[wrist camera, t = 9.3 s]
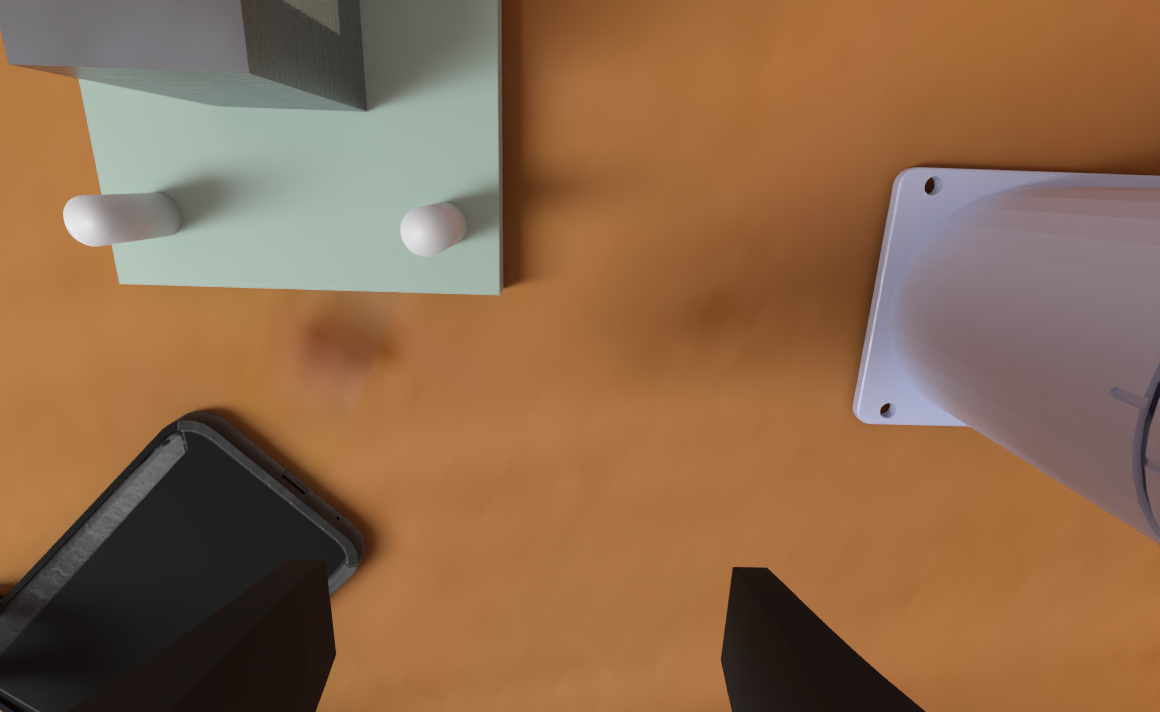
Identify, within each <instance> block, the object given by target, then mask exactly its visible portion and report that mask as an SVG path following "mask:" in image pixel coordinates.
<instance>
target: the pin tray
mask: <svg viewBox="0 0 1160 712" xmlns="http://www.w3.org/2000/svg"><path fill="white" fill-rule="evenodd" d="M359 2H360V16H361V31H362V45H363V59H364V74H365V88H366V103H367V112H359V111H331V110H304V109H276V108H248V107H220V106H212V105H207V104H202V103H197V102H192V101H187V100H182V99H178V98H173V97H168V96H163V95H158V94H153V93H148V92H143V91H138V90H133V89H128V88H123V87H118V86H113V85H108V84H104V83H99V82H94V81H89V80H84V79H79V83H80V88H81V93H82V98H83V103H84V108H85V113H86V118H87V123H88V128H89V133H90V138H91V143H92V148H93V153H94V158H95V163H96V168H97V173H98V178H99V183H100V188H101V193H102V195H80V196H76V197H74V198H72V199H70V200H69V201H68V202H67V204H66V205H65V208H64V212H63V218H64V222H65V225H66V228H67V229H68V231H69V232H70V234H71V235H72V236H73V237H74V238H75V239H76V240H78V241H79V242H81V243H83V244H85V245H88V246H104V245H111V244H112V249H113V254H114V259H115V264H116V269H117V274H118V279H119V284H138V285H172V286H205V287H239V288H273V289H307V290H341V291H375V292H408V293H442V294H476V295H500V294H501V292H502V290H503V142H502V0H359Z"/></svg>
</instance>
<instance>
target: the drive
mask: <svg viewBox="0 0 1160 712" xmlns="http://www.w3.org/2000/svg"><path fill="white" fill-rule="evenodd" d="M0 28H1V33H2V37H3V41H4V46H5V50H6V54H7V59H8V63H9V64H10V65H15V66H20V67H25V68H30V69H35V70H39V71H44V72H49V73H54V74H59V75H64V76H69V77H74V78H79V79H84V80H89V81H94V82H99V83H104V84H108V85H113V86H118V87H123V88H128V89H133V90H138V91H143V92H148V93H153V94H158V95H163V96H168V97H173V98H178V99H182V100H187V101H192V102H197V103H202V104H207V105H212V106H220V107H248V108H276V109H304V110H331V111H359V112H367V103H366V88H365V74H364V59H363V45H362V31H361V16H360V2H359V0H0Z"/></svg>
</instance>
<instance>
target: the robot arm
mask: <svg viewBox="0 0 1160 712" xmlns="http://www.w3.org/2000/svg"><path fill="white" fill-rule="evenodd" d="M929 178H932V179H933V180H934V185H935V186H934V188H933V191H932V192H930V193H929V194H927V193H926V192H925V183H926V181H927V180H928V179H929ZM887 403H890V407H889V409H888V411H886V412H885V413H881V414H880V410H881V407H882V406H883V405H885V404H887ZM853 412H854V414H855V416H856V417H857V418H858V419H860V420H861V421H862V422H864V423H868V424H894V425H934V426H970V427H971V428H973V429H974V430H976V431H978V432H979V433H981V434H983V435H984V436H986V437H987V438H989V439H991V440H992V441H994V442H995V443H997V444H999V445H1000V446H1002V447H1003V448H1005V449H1007V450H1008V451H1010V452H1011V453H1013V454H1015V455H1016V456H1018V457H1019V458H1021V459H1023V460H1024V461H1026V462H1028V463H1029V464H1031V465H1032V466H1034V467H1036V468H1037V469H1039V470H1040V471H1042V472H1044V473H1045V474H1047V475H1048V476H1050V477H1052V478H1053V479H1055V480H1056V481H1058V482H1060V483H1061V484H1063V485H1065V486H1066V487H1068V488H1069V489H1071V490H1073V491H1074V492H1076V493H1077V494H1079V495H1081V496H1082V497H1084V498H1085V499H1087V500H1089V501H1090V502H1092V503H1093V504H1095V505H1097V506H1098V507H1100V508H1101V509H1103V510H1105V511H1106V512H1108V513H1110V514H1111V515H1113V516H1114V517H1116V518H1118V519H1119V520H1121V521H1122V522H1124V523H1126V524H1127V525H1129V526H1130V527H1132V528H1134V529H1135V530H1137V531H1138V532H1140V533H1142V534H1143V535H1145V536H1147V537H1148V538H1150V539H1151V540H1153V541H1155V542H1156V543H1158V544H1159V545H1160V176H1152V175H1124V174H1095V173H1067V172H1039V171H1011V170H983V169H955V168H927V167H913V168H907V169H905V170H903V171H902V172H900V173H899V175H898V176H897V177H896V178H895V181H894V184H893V188H892V194H891V199H890V205H889V210H888V216H887V221H886V227H885V232H884V238H883V243H882V249H881V254H880V259H879V265H878V270H877V276H876V281H875V287H874V292H873V298H872V303H871V309H870V314H869V320H868V325H867V331H866V336H865V342H864V347H863V353H862V358H861V364H860V369H859V375H858V380H857V385H856V391H855V396H854V402H853ZM335 656H336V649H335V640H334V631H333V622H332V613H331V604H330V595H329V586H328V577H327V568H326V560H315V559H290V560H289V561H287V562H285V563H284V564H282V565H281V566H279V567H278V568H276V569H275V570H274V571H272V572H271V573H269V574H268V575H267V576H265V577H264V578H262V579H261V580H260V581H258V582H257V583H255V584H254V585H253V586H251V587H250V588H249V589H247V590H246V591H244V592H243V593H242V594H240V595H239V596H238V597H236V598H235V599H233V600H232V601H231V602H229V603H228V604H227V605H225V606H224V607H222V608H221V609H220V610H218V611H217V612H215V613H214V614H213V615H211V616H210V617H208V618H207V619H206V620H204V621H203V622H201V623H200V624H199V625H197V626H196V627H194V628H193V629H192V630H190V631H189V632H187V633H186V634H185V635H183V636H182V637H180V638H179V639H178V640H176V641H175V642H173V643H172V644H170V645H169V646H167V647H166V648H164V649H163V650H161V651H160V652H158V653H157V654H155V655H154V656H152V657H151V658H149V659H148V660H146V661H145V662H143V663H142V664H140V665H139V666H137V667H136V668H134V669H133V670H131V671H130V672H128V673H127V674H125V675H124V676H122V677H121V678H119V679H118V680H116V681H115V682H113V683H112V684H110V685H109V686H107V687H106V688H104V689H103V690H101V691H99V692H98V693H96V694H95V695H93V696H91V697H90V698H88V699H87V700H85V701H83V702H82V703H80V704H78V705H77V706H75V707H73V708H72V709H70V710H69V711H67V712H315V711H316V709H317V706H318V703H319V701H320V698H321V695H322V693H323V690H324V687H325V685H326V682H327V679H328V676H329V673H330V670H331V667H332V664H333V662H334V659H335ZM721 662H722V667H723V672H724V677H725V682H726V686H727V691H728V696H729V700H730V704H731V709H732V712H926V711H924V710H923V709H922V708H920V707H919V706H918V705H917V704H916V703H914V702H913V701H912V700H911V699H910V698H908V697H907V696H906V695H905V694H904V693H902V692H901V691H900V690H899V689H898V688H896V687H895V686H894V685H893V684H892V683H891V682H889V681H888V680H887V679H886V678H885V677H883V676H882V675H881V674H880V673H879V672H878V671H876V670H875V669H874V668H873V667H872V666H871V665H870V664H869V663H867V662H866V661H865V660H864V659H863V658H862V657H861V656H860V655H858V654H857V653H856V652H855V651H854V650H853V649H852V648H851V647H850V646H849V645H847V644H846V643H845V642H844V641H843V640H842V639H841V638H840V637H839V636H838V635H837V634H836V633H834V632H833V631H832V630H831V629H830V628H829V627H828V626H827V625H826V624H825V623H824V622H823V621H822V620H821V619H820V618H819V617H818V616H817V615H816V614H815V613H813V612H812V611H811V610H810V609H809V608H808V607H807V606H806V605H805V604H804V603H803V602H802V601H801V600H800V599H799V598H798V597H797V596H796V595H795V594H794V593H793V592H792V591H791V590H790V589H789V588H788V587H787V586H786V585H785V584H784V583H783V582H782V581H781V580H779V579H778V578H777V577H776V576H775V575H774V574H773V573H772V572H771V571H770V570H769V569H768V568H753V567H733V570H732V578H731V586H730V594H729V601H728V609H727V617H726V625H725V632H724V640H723V648H722V656H721Z"/></svg>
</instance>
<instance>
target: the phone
mask: <svg viewBox="0 0 1160 712" xmlns="http://www.w3.org/2000/svg"><path fill="white" fill-rule="evenodd" d="M282 475H285V476H286V477H287V478H288V479H290V480H291V481H292V482H293V483H294V484H296V485H297V486H298V487H299V488H301V489H302V490H303V491H304V492H305V493H304V494H302V493H301V492H300V491H299V490H297V489H296V488H295V487H294V486H293V485H291V484H290V483H289V482H288V481H286V480H285V479H284V478H283V477H282ZM336 517H339V518H340V519H339V520H338V519H337V518H336ZM364 552H365V540H364V538H363V536H362V534H361V532H360V531H359V530H358V529H357V527H356V526H355V525H354V524H352V523H351V522H350V521H349V520H348V519H346V518H345V517H344V516H343V515H342V514H340V513H339V512H338V511H337V510H335V509H334V508H333V507H332V506H331V505H329V504H328V503H327V502H326V501H324V500H323V499H322V498H321V497H320V496H318V495H317V494H316V493H315V492H313V491H312V490H311V489H310V488H309V487H307V486H306V485H305V484H304V483H302V482H301V481H300V480H299V479H298V478H296V477H295V476H294V475H293V474H291V473H290V472H289V471H288V470H287V469H285V468H284V467H283V466H282V465H280V464H279V463H278V462H277V461H276V460H274V459H273V458H272V457H271V456H269V455H268V454H267V453H266V452H265V451H263V450H262V449H261V448H260V447H258V446H257V445H256V444H255V443H254V442H252V441H251V440H250V439H249V438H247V437H246V436H245V435H244V434H243V433H241V432H240V431H239V430H238V429H236V428H235V427H234V426H233V425H232V424H230V423H229V422H228V421H226V420H225V419H223V418H222V417H220V416H218V415H216V414H212V413H209V412H196V411H195V412H192V413H188V414H185V415H184V416H182V417H180V418H179V419H177V420H175V421H174V422H172V423H171V424H169V425H168V426H166V427H165V428H164V429H162V430H161V431H160V433H159V434H158V435H157V436H156V437H155V438H154V439H153V440H152V441H151V442H150V443H149V444H148V445H147V446H146V447H145V448H144V450H143V451H142V452H141V453H140V454H139V455H138V456H137V457H136V458H135V459H134V460H133V461H132V462H131V463H130V464H129V466H128V467H127V468H126V469H125V470H124V471H123V472H122V473H121V474H120V475H119V476H118V477H117V478H116V479H115V480H114V481H113V483H112V484H111V485H110V486H109V487H108V488H107V489H106V490H105V491H104V492H103V493H102V494H101V495H100V496H99V497H98V498H97V500H96V501H95V502H94V503H93V504H92V505H91V506H90V507H89V508H88V509H87V510H86V511H85V512H84V513H83V514H82V515H81V517H80V518H79V519H78V520H77V521H76V522H75V523H74V524H73V525H72V526H71V527H70V528H69V529H68V530H67V531H66V532H65V534H64V535H63V536H62V537H61V538H60V539H59V540H58V541H57V542H56V543H55V544H54V545H53V546H52V547H51V548H50V549H49V551H48V552H47V553H46V554H45V555H44V556H43V557H42V558H41V559H40V560H39V561H38V562H37V563H36V564H35V565H34V566H33V568H32V569H31V570H30V571H29V572H28V573H27V574H26V575H25V576H24V577H23V578H22V579H21V580H20V581H19V582H18V583H17V585H16V586H15V587H14V588H13V589H12V590H11V591H10V592H9V593H8V594H7V595H6V596H5V597H4V598H3V599H2V600H1V602H0V710H1V711H3V712H67V711H69V710H70V709H72V708H73V707H75V706H77V705H78V704H80V703H82V702H83V701H85V700H87V699H88V698H90V697H91V696H93V695H95V694H96V693H98V692H99V691H101V690H103V689H104V688H106V687H107V686H109V685H110V684H112V683H113V682H115V681H116V680H118V679H119V678H121V677H122V676H124V675H125V674H127V673H128V672H130V671H131V670H133V669H134V668H136V667H137V666H139V665H140V664H142V663H143V662H145V661H146V660H148V659H149V658H151V657H152V656H154V655H155V654H157V653H158V652H160V651H161V650H163V649H164V648H166V647H167V646H169V645H170V644H172V643H173V642H175V641H176V640H178V639H179V638H180V637H182V636H183V635H185V634H186V633H187V632H189V631H190V630H192V629H193V628H194V627H196V626H197V625H199V624H200V623H201V622H203V621H204V620H206V619H207V618H208V617H210V616H211V615H213V614H214V613H215V612H217V611H218V610H220V609H221V608H222V607H224V606H225V605H227V604H228V603H229V602H231V601H232V600H233V599H235V598H236V597H238V596H239V595H240V594H242V593H243V592H244V591H246V590H247V589H249V588H250V587H251V586H253V585H254V584H255V583H257V582H258V581H260V580H261V579H262V578H264V577H265V576H267V575H268V574H269V573H271V572H272V571H274V570H275V569H276V568H278V567H279V566H281V565H282V564H284V563H285V562H287V561H289V560H290V559H315V560H326V568H327V577H328V586H329V595H332V594H333V593H334V592H335V591H336V590H337V589H338V588H339V587H341V586H342V585H343V584H344V583H345V582H346V581H347V580H348V579H350V577H351V576H352V575H353V574H354V572H355V571H356V569H357V567H358V566H359V564H360V562H361V560H362V558H363V555H364Z"/></svg>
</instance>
